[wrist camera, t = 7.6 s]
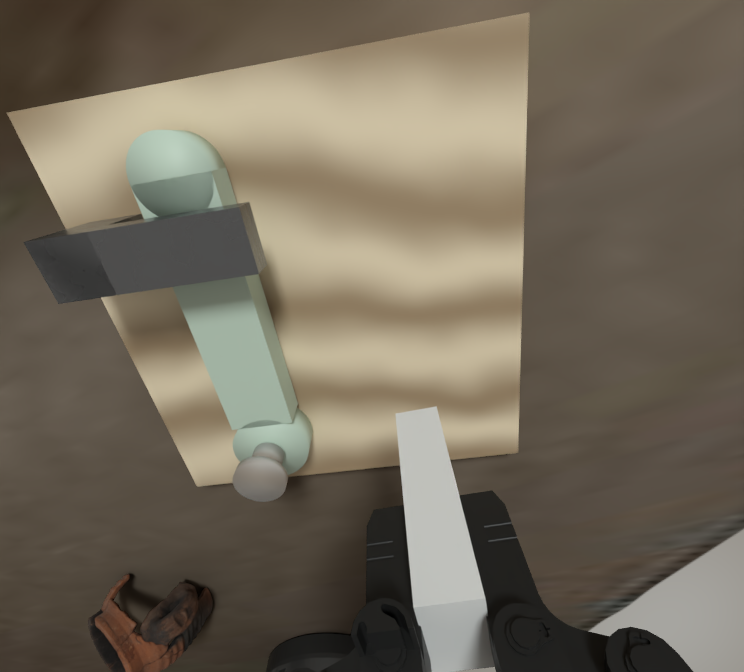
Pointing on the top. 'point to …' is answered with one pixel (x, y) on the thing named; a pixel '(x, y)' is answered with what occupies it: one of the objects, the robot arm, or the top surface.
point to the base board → (336, 239)
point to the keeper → (149, 252)
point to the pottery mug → (149, 629)
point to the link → (223, 300)
